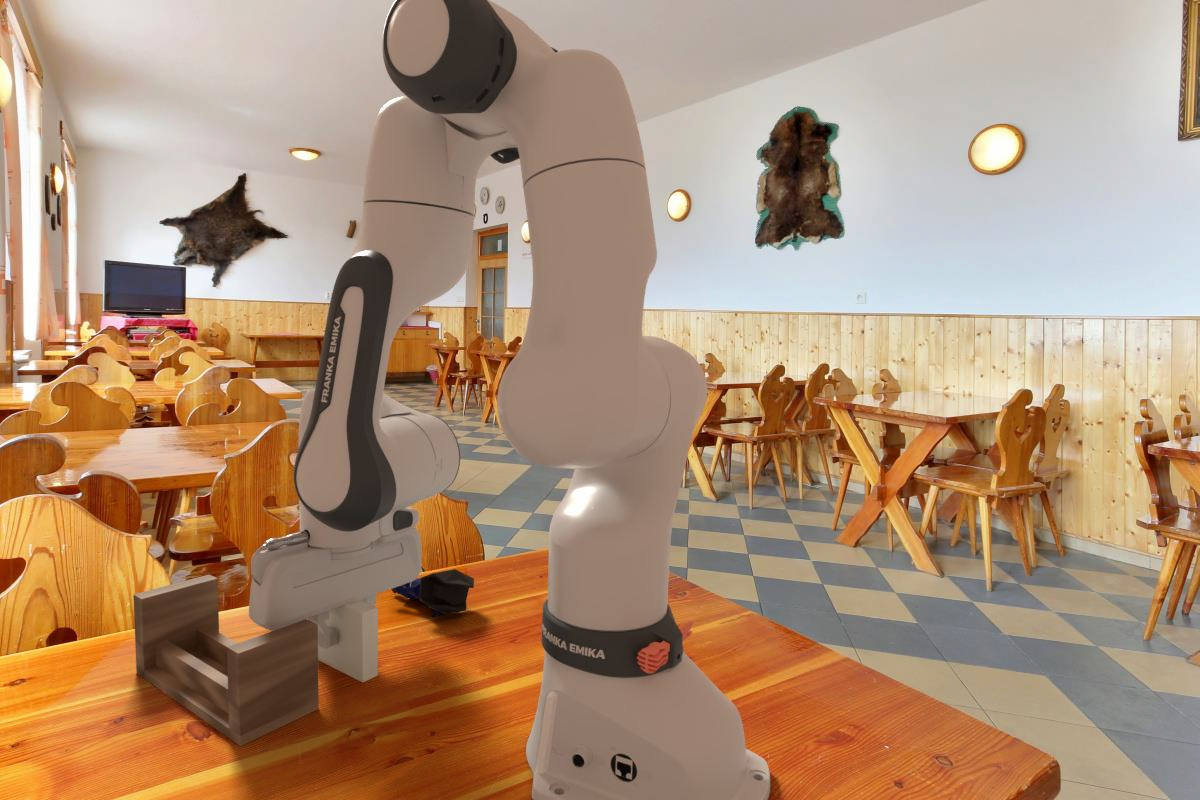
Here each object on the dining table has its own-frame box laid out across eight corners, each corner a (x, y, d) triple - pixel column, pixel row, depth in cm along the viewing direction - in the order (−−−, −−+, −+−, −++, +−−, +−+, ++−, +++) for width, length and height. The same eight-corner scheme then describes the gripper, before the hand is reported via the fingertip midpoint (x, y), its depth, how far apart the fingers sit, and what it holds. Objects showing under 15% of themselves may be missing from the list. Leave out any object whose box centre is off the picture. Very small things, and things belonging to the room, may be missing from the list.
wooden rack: (318, 708, 70) (317, 624, 69) (240, 746, 64) (238, 653, 63) (211, 646, 83) (209, 574, 82) (136, 672, 76) (133, 594, 75)
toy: (430, 573, 105) (491, 572, 95) (424, 617, 103) (486, 620, 93) (376, 566, 99) (436, 564, 89) (368, 613, 97) (429, 616, 87)
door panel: (377, 675, 77) (377, 607, 77) (362, 682, 76) (362, 613, 75) (325, 649, 83) (324, 585, 82) (309, 656, 81) (309, 590, 81)
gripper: (268, 550, 67) (271, 684, 69) (430, 509, 84) (429, 617, 85) (235, 537, 71) (238, 665, 72) (396, 500, 88) (396, 605, 89)
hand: (343, 639), depth 79 cm, fingers open, 3 cm apart
